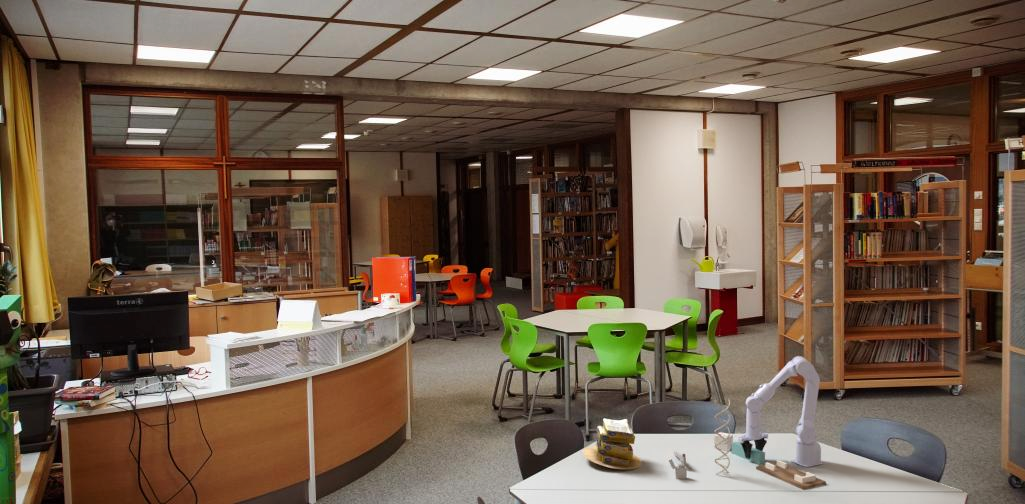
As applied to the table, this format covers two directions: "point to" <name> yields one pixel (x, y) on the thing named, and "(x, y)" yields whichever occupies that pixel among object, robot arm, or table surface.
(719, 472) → the dna model
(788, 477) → the walnut board
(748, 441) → the robot arm
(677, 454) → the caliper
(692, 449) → the table surface
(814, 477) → the end caps
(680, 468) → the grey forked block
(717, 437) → the beige cube
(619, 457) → the stacked boxes on plate
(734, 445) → the slat
